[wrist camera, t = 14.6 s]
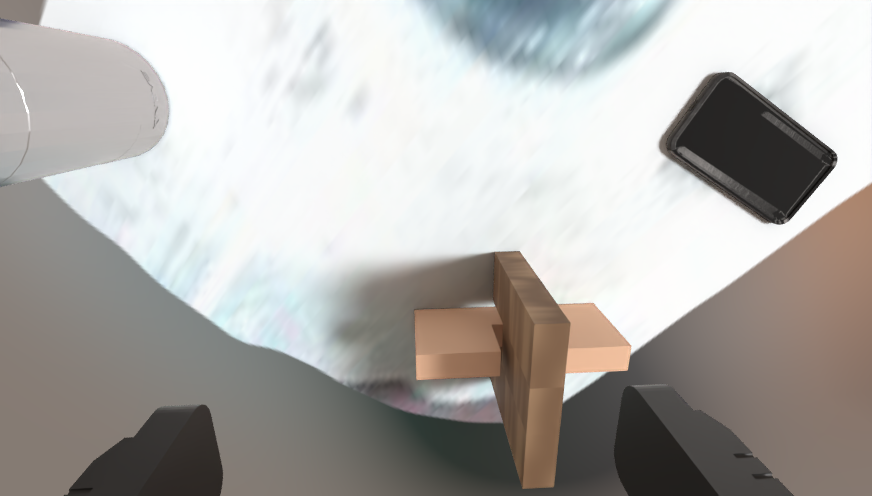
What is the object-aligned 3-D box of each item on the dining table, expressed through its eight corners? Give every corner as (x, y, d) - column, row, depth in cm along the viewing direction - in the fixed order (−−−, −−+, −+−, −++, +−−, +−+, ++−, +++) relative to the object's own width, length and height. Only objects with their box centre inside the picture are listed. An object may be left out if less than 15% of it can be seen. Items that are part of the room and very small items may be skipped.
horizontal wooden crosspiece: (415, 331, 44) (416, 379, 37) (414, 309, 43) (415, 354, 36) (590, 324, 45) (627, 370, 38) (593, 303, 44) (631, 346, 37)
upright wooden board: (490, 376, 47) (522, 488, 33) (494, 251, 42) (534, 324, 29) (512, 375, 47) (553, 486, 34) (519, 251, 42) (570, 323, 29)
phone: (782, 228, 42) (666, 148, 39) (773, 225, 43) (659, 146, 40) (843, 156, 40) (726, 65, 37) (832, 155, 41) (717, 66, 38)
